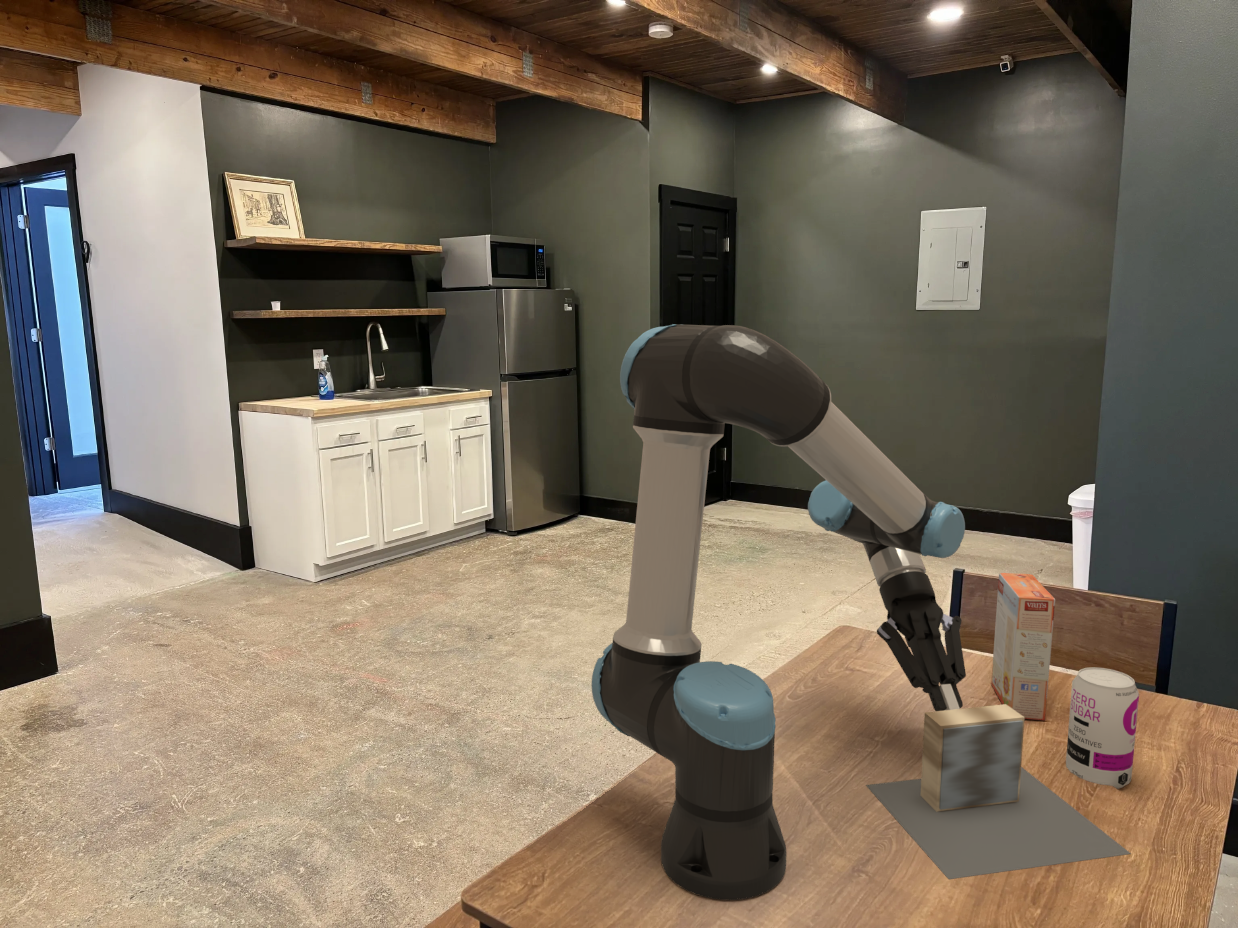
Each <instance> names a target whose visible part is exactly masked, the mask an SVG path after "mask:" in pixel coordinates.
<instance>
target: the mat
mask: <svg viewBox="0 0 1238 928" xmlns="http://www.w3.org/2000/svg"><path fill="white" fill-rule="evenodd" d="M865 786H866V788H867V789H868V790H869V791H870V792H871V793H872V795H874V797H875V798H876V799H877V800H878V801H879V803H880V804H881V805H882V806H884V807H885V809H886V810H887V811H888V813H890V815H891V816H892V817H893V818H894V819H895V820H896V821H897V823H898V824H899V825H900V827H902V828H903V830H904V831H906V833H907V834H908V835H909V836H910V837H911V838H912V840H913V841H914V842H915V843H916V844H917V846H918V847H919V848H920V849H921V850H922V851H923V852H924V853H925V854H926V856H927V857H928V858H929V859H930V860H931V861H932V862H933V863H934V865H936V866H937V868H938V869H939V871H941V873H942V874H943V875H944V876H945V877H946V878H947V880H955V879H962V878H969V877H975V876H983V875H990V874H997V873H998V874H999V873H1005V872H1012V871H1018V870H1019V871H1020V870H1027V869H1033V868H1041V867H1047V866H1056V865H1061V864H1063V865H1064V864H1071V863H1076V862H1082V861H1083V862H1084V861H1090V860H1098V859H1103V858H1104V859H1105V858H1111V857H1112V858H1113V857H1120V856H1125V855H1132V853H1131V852H1130V851H1129V850H1127V849H1126V848H1125V847H1124V846H1122V845H1121V844H1120V843H1119V842H1117V841H1116V840H1114V838H1112V837H1111V836H1109V834H1107V833H1106V832H1105V831H1103V830H1102V829H1101V828H1100V827H1098V826H1097V825H1096V824H1094V823H1093V822H1092V821H1091V820H1089V819H1088V818H1087V817H1086V816H1084V815H1083V814H1081V812H1080V811H1078V810H1077V809H1075V808H1074V807H1073V806H1072V805H1070V804H1069V803H1068V802H1067V801H1065V800H1064V799H1063V798H1061V797H1060V795H1058V794H1056V793H1055V792H1054V791H1052V789H1050V788H1049V787H1048V786H1046V785H1045V784H1044V783H1042V782H1041V781H1040V780H1039V779H1037V778H1036V777H1035V776H1033V774H1032V773H1030V772H1029V771H1027V769H1025V768H1024V767H1022V766H1021V776H1020V790H1019V801H1018V802H1010V803H1002V804H994V805H986V806H978V807H970V808H961V809H953V810H945V811H937V812H936V811H935V810H934V809H933V808H932V807H931V806H930V805H929V804H928V803H927V802H926V801H925V800H924V799H923V798H922V796H921V778H916V779H915V778H914V779H907V780H906V779H905V780H898V781H888V782H881V783H880V782H879V783H874V784H873V783H871V784H866V785H865Z"/></svg>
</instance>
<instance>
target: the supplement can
mask: <svg viewBox="0 0 1238 928" xmlns="http://www.w3.org/2000/svg"><path fill="white" fill-rule="evenodd" d="M1135 682H1136V681H1135V679H1134V678H1133V677H1131V676H1130V675H1128V674H1127V673H1124V672H1122V671H1118V670H1115V669H1112V668H1111V669H1110V668H1104V667H1097V666H1096V667H1094V666H1093V667H1085V668H1081V669H1079V671H1077V674H1076V676H1075V677H1074V678H1073V679H1072V681H1071V693H1070V706H1069V715H1068V718H1069V719H1068V731H1067V732H1068V733H1067V744H1066V753H1065V755H1066V756H1065V767H1066V769H1067V770H1068V771H1069V772H1070V773H1071V774H1073V775H1074V776H1076V777H1078V778H1079V779H1082V780H1084V781H1087V782H1090V783H1093V784H1098V785H1102V786H1103V785H1104V786H1111V787H1113V788H1115V789H1116V790H1119V789H1121V788H1125V786H1127V785H1129V784H1130V782H1131V781H1132V776H1133V765H1134V764H1133V763H1134V756H1135V755H1134V754H1135V753H1134V752H1135V745H1136V744H1135V743H1136V733H1137V723H1138V722H1137V721H1138V711H1139V702H1140V700H1139V699H1140V692H1139V689H1138V688H1137V686H1136V683H1135Z"/></svg>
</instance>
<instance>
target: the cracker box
mask: <svg viewBox="0 0 1238 928" xmlns="http://www.w3.org/2000/svg"><path fill="white" fill-rule="evenodd" d="M996 597H997V599H996V600H997V601H996V602H997V603H996V610H995V611H996V614H995V615H996V616H995V624H994V625H995V626H994V627H995V628H994V639H993V640H994V643H993V656H992V667H991V671H992V672H991V682H990V684H991V686H992V689H993V690H994V692H995V693H996V696H997V697H998V699H999V701H1000V703H1001V705H1003V704H1006V705H1008V706H1009V707H1011V708H1012V709H1014V710H1015V711H1016V712H1018V713H1019V714H1021V715H1022V716H1024V717H1025V718H1024V720H1031V721H1032V720H1035V721H1045V720H1046V714H1047V713H1046V712H1047V700H1048V690H1049V689H1048V688H1049V687H1048V686H1049V678H1050V677H1049V676H1050V664H1051V655H1052V654H1051V653H1052V642H1053V641H1052V640H1053V629H1054V620H1055V619H1054V618H1055V617H1054V616H1055V607H1056V599H1055V597H1054V596H1053V595H1052V594H1051V593H1050V592H1049V591H1048V590H1047V589H1046V588H1045V586H1044V585H1042V583H1041V582H1039V580H1038V579H1037V578H1036V577H1035V576H1034V574H1030V573H1029V574H1028V573H1012V572H1011V573H1010V572H1009V573H1008V572H1000V573H998V583H997V596H996Z"/></svg>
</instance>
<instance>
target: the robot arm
mask: <svg viewBox="0 0 1238 928" xmlns="http://www.w3.org/2000/svg"><path fill="white" fill-rule="evenodd" d="M619 381H620V383H619V384H620V389H621V391H622V392H621V393H622V395H623V396H625V397H626V402H627V404H629V406H631V408H632V410H634V411H633V424H632V428H633V430H634V431H635V432H636V433H637V435H638V436H639V438H641V440H642V442H643V443H642V445H643V446H642V451H641V452H642V453H641V455H642V456H641V465H640V475H639V485H638V494H637V495H638V496H637V503H636V505H637V507H636V515H635V516H636V517H635V525H634V526H635V527H634V536H633V537H634V538H633V546H632V548H633V549H632V558H631V566H630V567H631V568H630V575H629V576H630V579H629V586H628V587H629V589H628V598H627V599H628V600H627V610H626V619H625V623H624V624H623V625H622V626H621V627H620V628H618V629H617V630H615V631H614V633H613V636H612V642H611V643H610V644H609V645H607V646H606V647H605V649H604V650H603V651H602V654H603V655H602V656H601V657H598V658H597V659H596V662H595V664H594V667H593V671H592V676H591V694H592V699H593V702H594V704H595V707H596V709H597V710H598V712H599V714H600V715H601V716H602V717H603V718H604V719H605V720H606V721H607V722H608V723H610V724H611V726H613V727H614V728H615V729H616V730H617V731H618V732H620V733H621V734H623V735H625V736H627V737H631V738H632V739H634V740H635V741H637V742H638V743H640V744H642V745H643V746H646V747H647V748H648V749H650V750H652V751H653V752H655V753H657V754H658V755H660V756H661V757H663V758H664V759H667V760H668V761H670V762H671V763H672V764H673V765H674V768H675V769H674V775H675V777H674V778H675V779H674V780H675V782H674V783H675V784H674V786H675V787H674V789H675V796H674V797H675V798H674V801H673V805H672V807H671V810H670V813H669V816H668V819H667V822H666V825H665V827H664V831H663V833H662V835H661V841H660V842H661V843H660V858H661V859H660V860H661V861H660V862H661V865H662V868H663V871H664V873H665V874H666V875H667V876H668V878H669V879H670V880H672V882H673V883H675V885H677V886H679V887H680V888H682V889H684V890H686V891H688V892H690V893H692V894H695V895H697V896H699V897H700V896H701V897H703V898H708V899H714V900H720V901H721V900H723V901H735V900H738V901H739V900H745V899H750V898H754V897H758V896H761V895H763V894H765V893H768V892H769V891H771V890H772V889H773V888H775V887H777V885H779V883H780V882H781V881H782V880H783V878H784V876H785V874H786V872H787V871H786V870H787V845H786V841H785V839H784V835H783V832H782V829H781V825H780V823H779V820H778V817H777V815H776V814H777V813H776V811H775V808H774V804H773V791H774V790H773V789H774V765H775V764H774V763H775V734H776V733H775V732H776V721H777V720H776V716H775V710H774V708H775V707H774V697H773V694H772V693H773V692H772V691H771V689H770V687H769V686H768V684H767V682H766V681H765V680H764V679H763V678H762V677H760V676H759V675H758V674H756V673H755V672H753V671H752V670H750V669H748V668H746V667H743V666H740V665H739V664H738V665H737V664H734V663H729V664H726V663H725V664H724V663H723V662H722V661H715V660H714V661H711V660H708V661H701V654H702V653H701V652H702V642H701V640H700V639H699V637H698V636H697V635H696V634H695V633H694V632H693V630H692V627H693V618H694V607H695V599H696V589H697V578H698V568H699V560H700V549H701V540H702V539H701V538H702V530H703V521H704V513H705V512H704V510H705V500H706V492H707V491H706V490H707V482H708V481H707V480H708V471H709V463H710V461H709V460H710V452H711V448H712V447H713V446H714V445H715V444H716V443H717V442H718V441H720V440H721V439H722V438H723V437H724V434H725V424H730V425H734V426H739V427H742V428H744V429H748V430H751V431H754V432H756V433H757V434H759V435H761V436H762V437H763V438H764V439H766V440H767V441H768V442H769V443H771V444H772V445H774V446H777V447H788V448H789V449H790V450H791V451H793V452H794V454H795V455H797V456H798V457H799V458H800V459H802V460H803V461H804V462H805V464H807V465H808V466H809V467H811V468H812V470H814V471H815V472H817V474H819V475H820V476H821V477H822V478H823V479H824V480H823V481H821V482H819V484H817V485H816V486H815V487H814V488H813V490H812V491H811V493H810V497H809V500H808V502H807V511H808V515H809V517H810V519H811V521H812V522H813V523H814V524H816V526H819V527H821V528H823V530H825V531H826V532H831V533H834V534H837V535H841V536H842V537H846V538H848V539H851V540H852V541H855V542H857V543H861V544H862V545H863V548H864V549H865V553H866V555H867V558H868V561H869V564H870V568H871V570H872V572H873V575H874V578H875V582H876V584H877V586H878V587H879V591H878V592H879V594H880V596H881V599H882V604H883V605H884V608H885V609H886V611H887V615H886V619H887V620H886V621H883V622H882V623H881V624H880V626H879V627H878V628H877V629H876V634H877V636H879V637H880V638H881V639H882V640H883V642H885V643H886V644H887V646H888V647H889V649H890V651H891V653H892V654H893V656H894V658H895V660H896V661H897V663H898V665H899V666H900V668H901V669H902V671H903V672H904V675H905V676H906V677H907V680H908V681H909V683H910V684H911V686H912V687H913V688H915V689H918V688H921V689H922V692H923V693H924V694H928V696H929V699H930V702H931V705H932V708H933V710H934V711H944V710H954V709H962V708H963V705H964V704H963V699H962V697H961V695H960V692H959V690H958V686H957V685H958V684H959V683H960V682H961V681H963V679H965V678H966V676H967V675H966V673H967V672H966V667H965V659H964V652H963V645H962V640H961V632H960V629H961V624H962V618H961V617H960V616H959V615H955V616H953V617H952V616H949V615H947V614H946V613H944V610H943V608H942V607H940V606H939V604H938V602H937V600H936V593H935V590H934V587H933V585H932V584H931V580H930V578H929V576H928V574H926V572H927V571H926V567H925V564H924V561H923V559H922V557H934V558H938V559H947V558H949V557H951V556H953V555H954V554H955V553H956V552H958V550H959V549H960V547H961V543H962V541H963V539H964V537H965V532H966V531H965V530H966V522H965V518H964V515H963V513H962V511H961V510H960V509H959V508H958V507H956V505H955V506H954V505H952V504H947V503H945V502H944V501H935V500H932V499H930V498H929V497H928V496H927V495H926V494H925V493H924V492H922V490H921V489H919V488H918V487H917V486H916V484H915V483H914V482H912V481H911V480H910V479H909V478H908V477H907V475H905V474H904V473H903V471H902V470H900V469H899V467H897V466H896V465H895V464H894V462H892V460H891V459H889V458H888V457H887V455H885V454H884V453H883V452H882V451H881V450H880V449H879V448H878V447H877V445H876V444H874V443H873V442H872V440H871V439H870V438H869V437H868V436H866V435H865V434H864V433H863V431H861V429H860V428H859V427H857V426H856V425H855V424H854V423H853V421H851V420H850V419H849V417H848V416H847V415H846V414H845V413H844V412H842V411H841V410H840V408H838V407H837V406H836V405H835V404H834V403H833V401H832V393H831V389H830V388H829V385H827V384H826V382H825V381H824V380H823V379H822V378H821V377H820V376H819V375H818V374H817V373H816V372H815V371H814V370H813V369H812V368H810V366H808V365H807V364H806V363H805V362H804V361H803V360H801V359H800V358H799V357H798V356H797V355H795V354H794V353H792V351H790V350H789V349H787V348H786V347H785V346H783V345H781V344H780V343H778V342H777V340H774V339H773V338H770V337H769V336H767V335H765V334H763V333H761V332H759V331H757V330H754V329H753V328H752V329H751V328H748V327H745V326H742V325H733V324H731V325H730V324H729V325H728V324H727V325H726V324H725V325H724V324H723V325H707V324H706V325H704V324H701V325H700V324H699V325H698V324H673V323H672V324H670V325H665V326H658V327H653V328H650V329H648V330H646V331H645V332H643V333H642V334H641V335H639V336H638V338H636V339H635V340H633V342H632V343H631V344H630V346H629V347H628V349H627V351H626V352H625V355H624V356H623V359H622V363H621V366H620V373H619ZM921 556H922V557H921ZM941 625H942V626H941ZM940 627H942V629H941V630H942V631H943V632H944V643H945V647H944V644H943V640H942V634H941V630H940ZM902 635H903V636H904V638H905V640H904V638H903V637H902Z"/></svg>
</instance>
